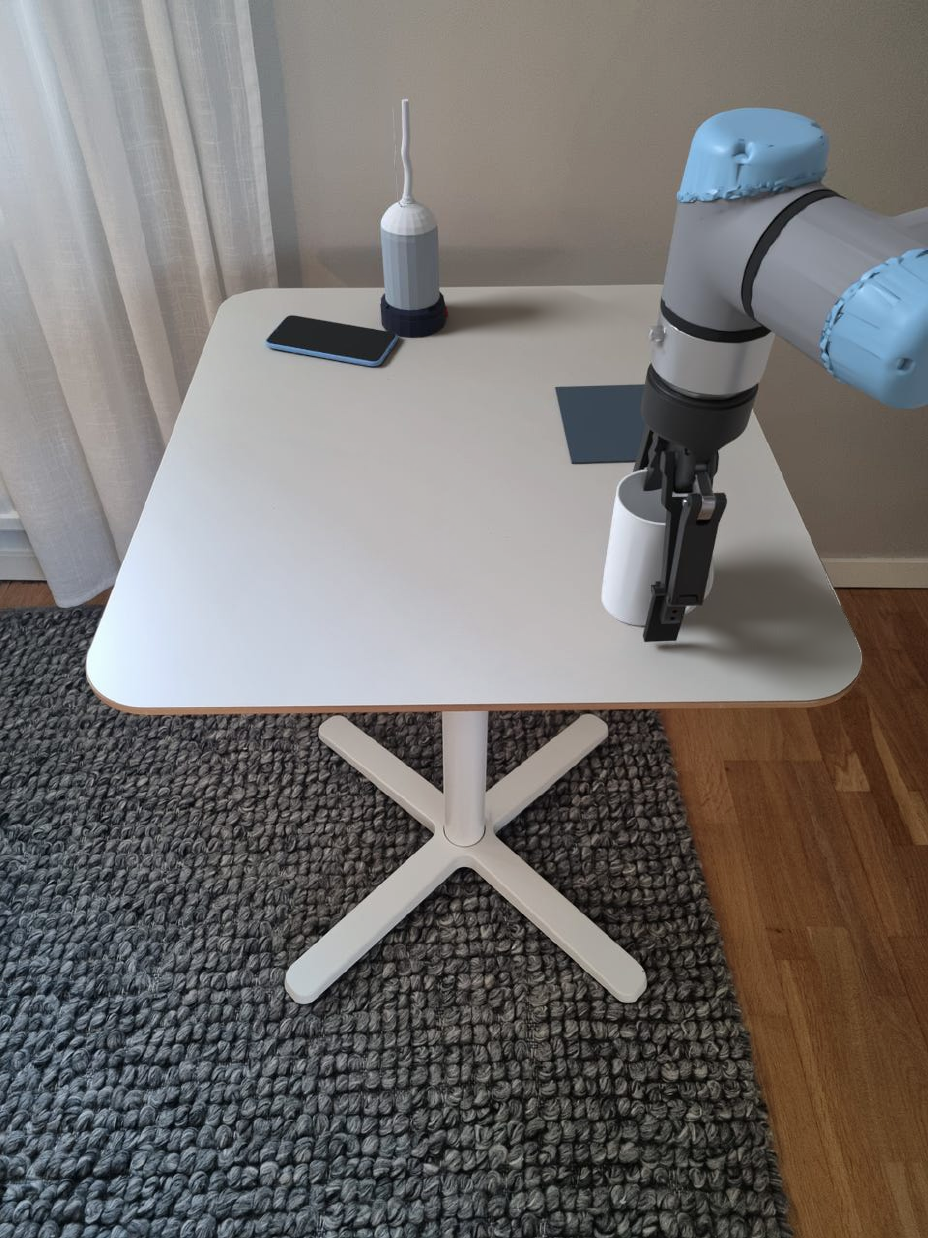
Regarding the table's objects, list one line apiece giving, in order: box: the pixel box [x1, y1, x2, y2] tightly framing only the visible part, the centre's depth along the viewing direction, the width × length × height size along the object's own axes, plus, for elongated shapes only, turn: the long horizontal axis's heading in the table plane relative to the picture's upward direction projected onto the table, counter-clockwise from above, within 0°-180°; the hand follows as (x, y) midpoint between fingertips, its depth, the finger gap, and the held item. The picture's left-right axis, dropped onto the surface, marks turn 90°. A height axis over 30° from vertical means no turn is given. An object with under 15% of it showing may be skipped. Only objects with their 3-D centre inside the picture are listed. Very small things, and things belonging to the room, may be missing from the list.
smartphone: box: [265, 314, 398, 367], centre depth 106 cm, size 7×1×15 cm
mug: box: [600, 468, 715, 627], centre depth 72 cm, size 10×7×12 cm, turn 37°
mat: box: [554, 383, 646, 465], centre depth 95 cm, size 14×14×1 cm
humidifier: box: [379, 98, 449, 339], centre depth 101 cm, size 8×8×25 cm
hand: (649, 599), depth 76 cm, fingers closed on mug, 8 cm apart
